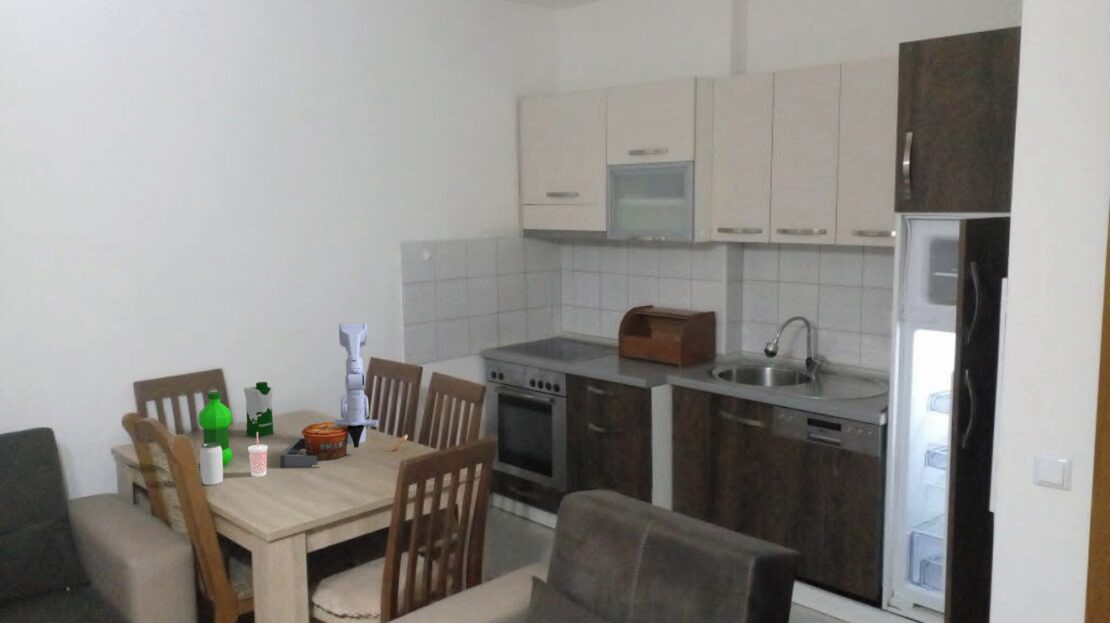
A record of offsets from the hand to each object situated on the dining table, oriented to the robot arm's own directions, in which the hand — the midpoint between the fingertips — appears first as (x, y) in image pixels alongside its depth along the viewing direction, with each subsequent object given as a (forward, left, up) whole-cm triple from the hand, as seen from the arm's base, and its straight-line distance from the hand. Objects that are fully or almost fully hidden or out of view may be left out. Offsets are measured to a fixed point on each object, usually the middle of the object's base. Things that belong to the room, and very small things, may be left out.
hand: (356, 446), depth 300 cm
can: (+26, -40, -4) cm, 48 cm away
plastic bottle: (+10, -44, -4) cm, 45 cm away
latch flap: (-7, +13, -1) cm, 15 cm away
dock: (0, -17, -4) cm, 17 cm away
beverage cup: (+18, -28, -4) cm, 33 cm away
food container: (0, -10, -4) cm, 11 cm away
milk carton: (-30, -42, -4) cm, 52 cm away
